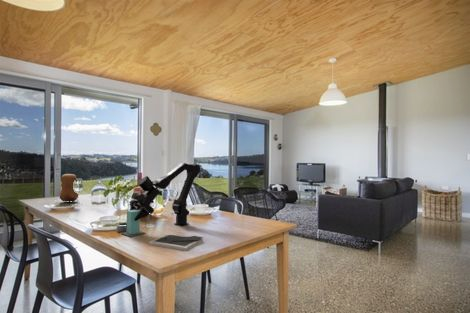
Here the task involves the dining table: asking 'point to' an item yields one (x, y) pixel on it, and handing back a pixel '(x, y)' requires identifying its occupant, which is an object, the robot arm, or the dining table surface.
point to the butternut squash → (68, 188)
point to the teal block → (133, 222)
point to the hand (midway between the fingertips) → (130, 219)
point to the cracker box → (139, 191)
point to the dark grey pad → (132, 234)
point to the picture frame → (176, 241)
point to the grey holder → (121, 227)
